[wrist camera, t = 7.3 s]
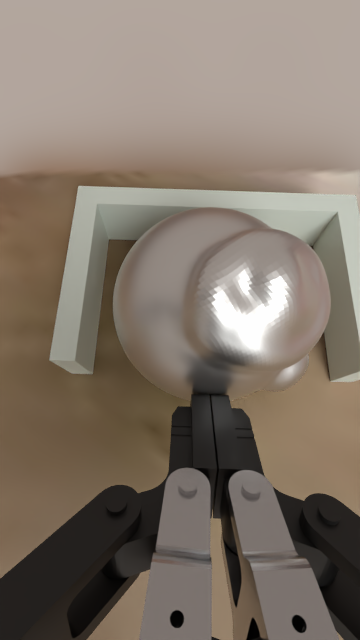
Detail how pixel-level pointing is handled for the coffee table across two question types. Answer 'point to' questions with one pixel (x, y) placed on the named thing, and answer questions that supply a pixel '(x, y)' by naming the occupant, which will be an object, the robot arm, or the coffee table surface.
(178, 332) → the ghost figurine
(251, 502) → the robot arm
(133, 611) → the coffee table surface
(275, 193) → the grey u-shaped frame
